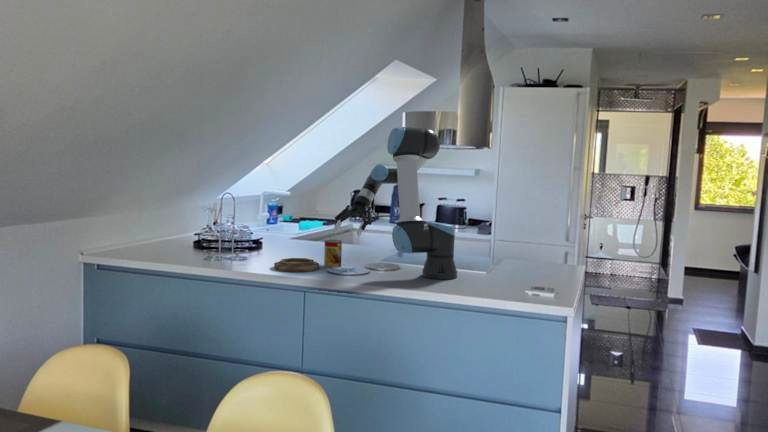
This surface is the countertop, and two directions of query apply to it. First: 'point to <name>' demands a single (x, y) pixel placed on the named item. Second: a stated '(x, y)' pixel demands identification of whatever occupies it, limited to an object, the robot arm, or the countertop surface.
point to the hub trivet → (296, 265)
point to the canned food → (332, 253)
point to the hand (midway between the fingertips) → (345, 233)
